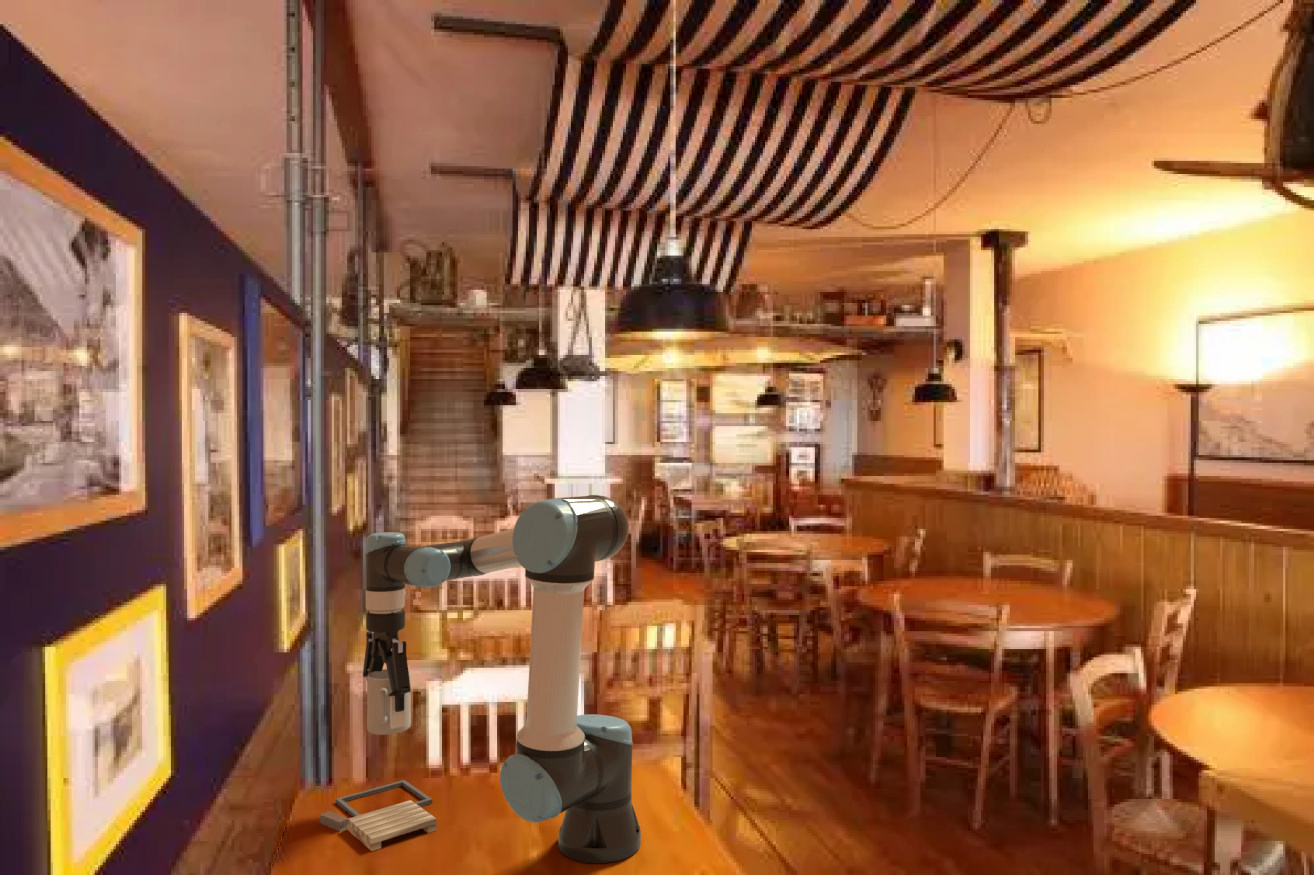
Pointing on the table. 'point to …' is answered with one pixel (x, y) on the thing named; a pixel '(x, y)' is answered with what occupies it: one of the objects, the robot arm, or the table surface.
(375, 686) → the mug
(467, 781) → the table surface
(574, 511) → the robot arm
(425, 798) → the socket frame
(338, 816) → the grey rectangular bar
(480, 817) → the table surface
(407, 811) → the rack
